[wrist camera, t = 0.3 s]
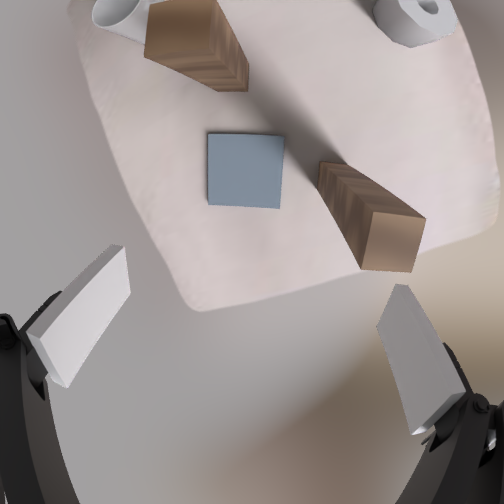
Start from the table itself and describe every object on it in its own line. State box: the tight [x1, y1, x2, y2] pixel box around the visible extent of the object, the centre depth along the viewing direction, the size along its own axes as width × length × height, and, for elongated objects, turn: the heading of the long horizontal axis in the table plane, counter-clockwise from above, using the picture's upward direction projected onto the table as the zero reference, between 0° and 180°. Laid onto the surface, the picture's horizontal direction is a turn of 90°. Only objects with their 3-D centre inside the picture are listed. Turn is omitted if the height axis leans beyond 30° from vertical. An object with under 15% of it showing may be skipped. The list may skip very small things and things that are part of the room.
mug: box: [91, 0, 164, 45], centre depth 22 cm, size 10×7×12 cm, turn 75°
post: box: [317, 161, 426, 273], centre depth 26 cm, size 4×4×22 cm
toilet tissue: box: [372, 0, 458, 48], centre depth 19 cm, size 9×13×9 cm
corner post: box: [144, 0, 249, 92], centre depth 21 cm, size 4×4×22 cm
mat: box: [208, 134, 284, 209], centre depth 36 cm, size 10×10×1 cm
